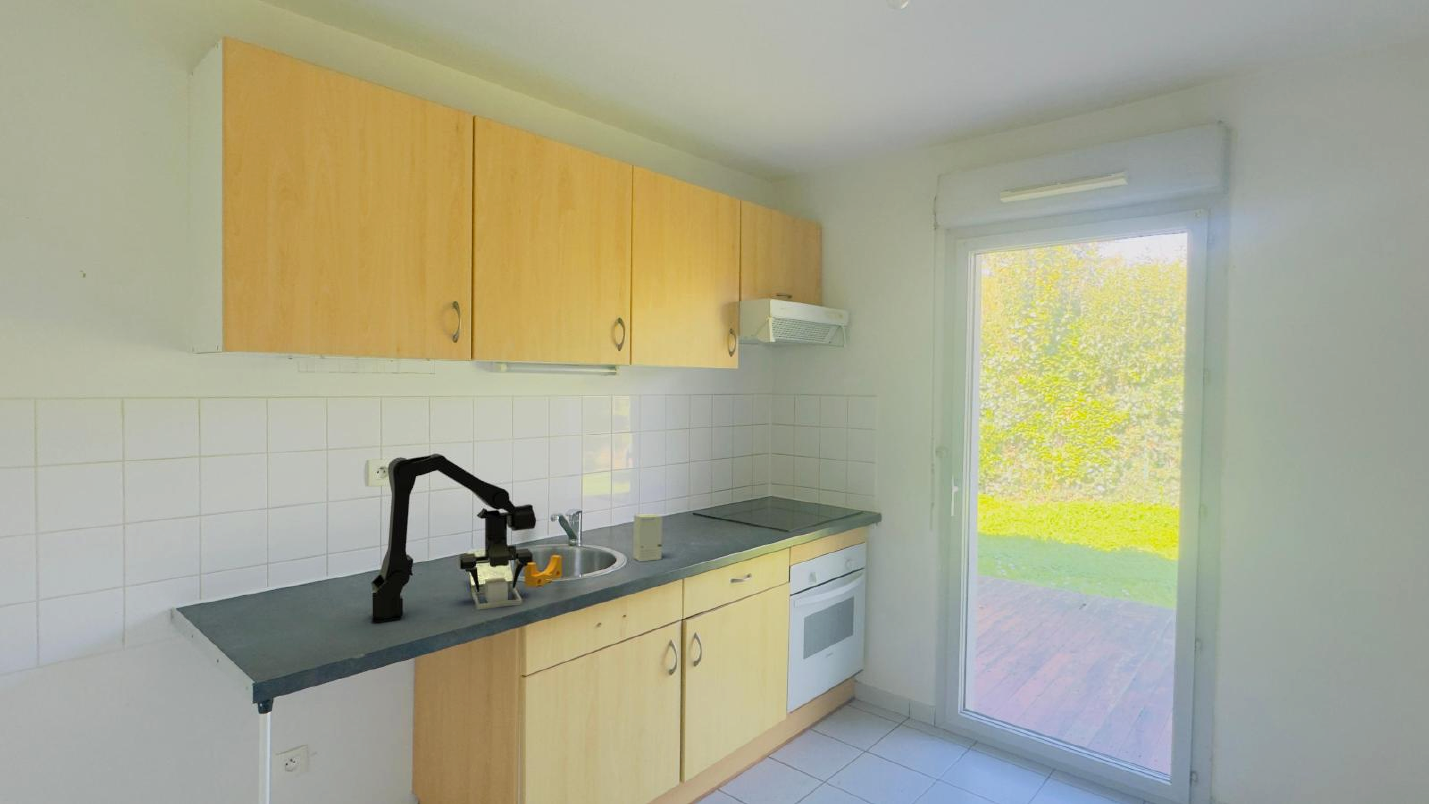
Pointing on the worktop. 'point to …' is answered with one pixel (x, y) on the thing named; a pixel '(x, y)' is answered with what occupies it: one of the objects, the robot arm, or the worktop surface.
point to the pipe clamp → (551, 572)
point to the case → (488, 573)
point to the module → (496, 590)
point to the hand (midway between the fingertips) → (496, 590)
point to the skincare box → (647, 537)
